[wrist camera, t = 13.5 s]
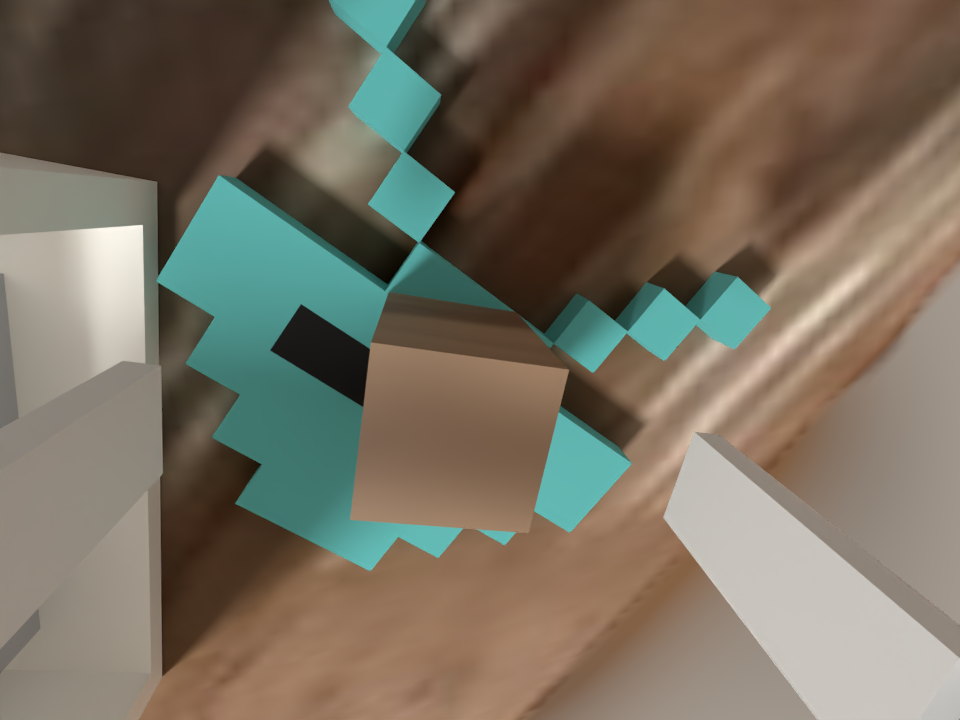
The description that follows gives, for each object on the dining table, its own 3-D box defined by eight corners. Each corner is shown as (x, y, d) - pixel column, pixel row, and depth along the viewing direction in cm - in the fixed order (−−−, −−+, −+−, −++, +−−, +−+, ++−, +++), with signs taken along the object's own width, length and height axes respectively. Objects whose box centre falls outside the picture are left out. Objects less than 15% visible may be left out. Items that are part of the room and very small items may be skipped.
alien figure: (373, -37, 16) (108, 399, 20) (366, -72, 14) (71, 422, 18) (738, 298, 22) (479, 593, 26) (771, 308, 20) (484, 627, 24)
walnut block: (388, 292, 18) (371, 342, 11) (516, 312, 19) (569, 369, 12) (373, 412, 19) (349, 519, 13) (492, 425, 20) (528, 532, 14)
